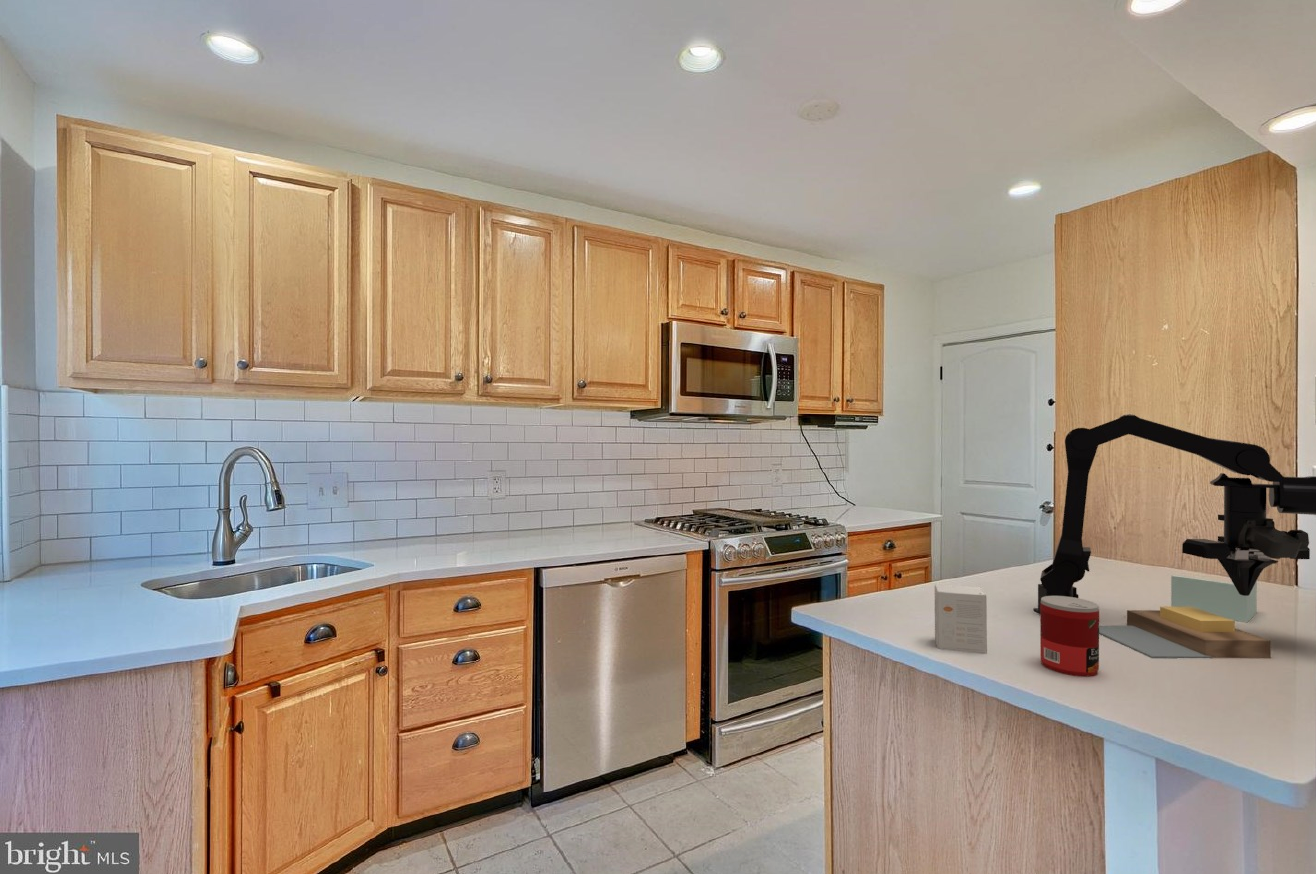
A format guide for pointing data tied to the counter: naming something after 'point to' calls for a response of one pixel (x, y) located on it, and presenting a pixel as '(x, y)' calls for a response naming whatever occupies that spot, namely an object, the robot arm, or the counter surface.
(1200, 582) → the right angle wall
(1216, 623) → the yellow flat block
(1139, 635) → the mat
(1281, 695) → the counter surface
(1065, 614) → the canned food
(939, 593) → the small box
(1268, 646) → the brown flat block
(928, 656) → the counter surface
